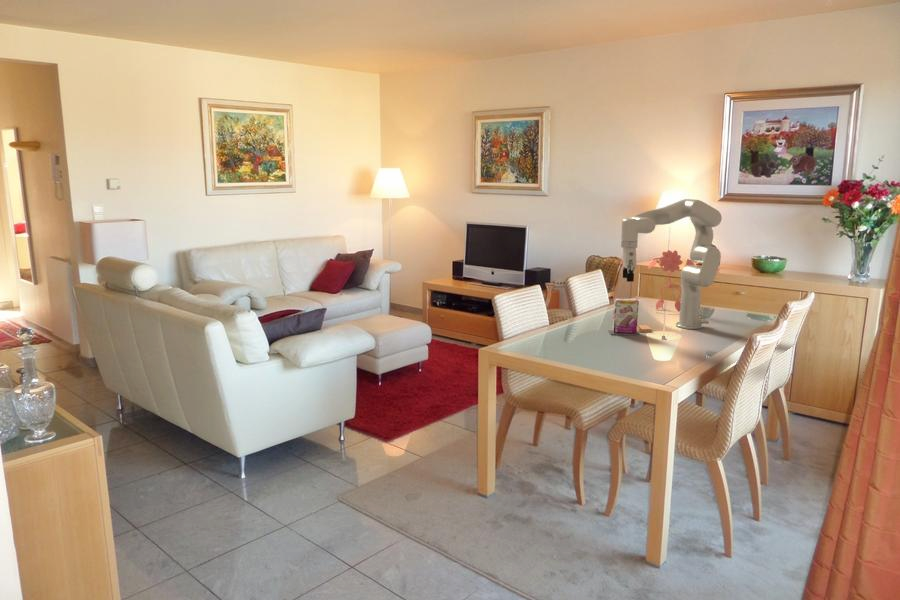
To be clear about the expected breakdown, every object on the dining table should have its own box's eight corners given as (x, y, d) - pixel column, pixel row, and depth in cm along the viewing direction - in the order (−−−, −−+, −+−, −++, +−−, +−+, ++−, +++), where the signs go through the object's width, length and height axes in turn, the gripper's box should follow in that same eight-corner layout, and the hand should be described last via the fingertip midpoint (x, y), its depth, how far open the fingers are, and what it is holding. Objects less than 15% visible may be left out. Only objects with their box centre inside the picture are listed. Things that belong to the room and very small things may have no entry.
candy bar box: (613, 333, 322) (615, 300, 319) (612, 330, 327) (613, 298, 323) (637, 333, 321) (639, 300, 318) (635, 331, 326) (637, 298, 323)
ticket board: (647, 328, 334) (647, 324, 334) (651, 332, 327) (651, 328, 326) (635, 328, 335) (635, 324, 334) (639, 331, 327) (639, 328, 327)
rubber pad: (636, 331, 327) (637, 330, 327) (640, 335, 320) (640, 334, 320) (608, 331, 328) (608, 330, 328) (610, 335, 321) (611, 333, 321)
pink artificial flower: (648, 306, 386) (651, 247, 378) (693, 311, 372) (698, 250, 364) (639, 311, 373) (643, 250, 365) (686, 317, 359) (691, 254, 351)
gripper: (641, 246, 306) (639, 282, 310) (633, 242, 323) (632, 276, 327) (624, 246, 307) (623, 283, 311) (617, 242, 324) (616, 276, 327)
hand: (628, 279), depth 319 cm, fingers open, 9 cm apart
